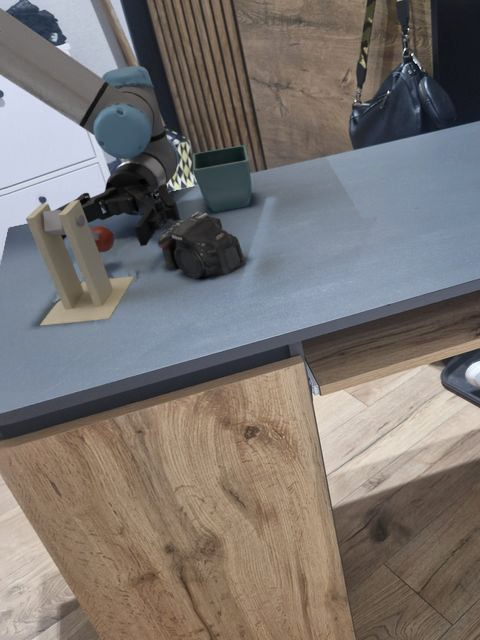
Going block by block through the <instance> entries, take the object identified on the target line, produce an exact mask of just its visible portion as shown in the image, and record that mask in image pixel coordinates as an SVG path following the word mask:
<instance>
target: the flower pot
mask: <svg viewBox="0 0 480 640" xmlns="http://www.w3.org/2000/svg"><path fill="white" fill-rule="evenodd" d="M250 167H251V166H250V159H249V155H248V151H247V147H246V145H245V144H244V145H243V144H242V145H241V144H240V145H237V146H229V147H225V148H219V149H211V150H206V151H202V152H201V151H199V152H196V153H192V172H193V174H194V176H195V179H196V183H197V185H198V188H199V191H200V193H201V195H202V198H203V199H204V201H205V204H206V205H207V206H208V208H209V209H210V210H211V211H212V212H213V213H219V212H225V211H229V210H230V211H231V210H234V209H240V208H245V207H249V206H250V203H251V199H252V178H251V177H252V176H251V168H250Z"/></svg>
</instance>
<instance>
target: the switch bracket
mask: <svg viewBox="0 0 480 640" xmlns="http://www.w3.org/2000/svg"><path fill="white" fill-rule="evenodd" d="M74 200H75V199H74ZM68 203H69V202H68ZM45 211H52V209H51V206H50V204H49V203H41V204H39V205H38V206H37V207H36V208H35V209H34V210H33V211H32V212H31V213H30V214H29V215H28V216H26V218H25V221H26V223H27V225H28V227H29V230H30V232H31V234H32V237H33V239H34V241H35V244H36V246H37V249H38V250H39V253H40V255H41V258H42V259H43V262H44V264H45V267H46V269H47V271H48V274H49V276H50V278H51V281H52V283H53V285H54V288H55V290H56V292H57V294H58V297H59V299H58V300H57V302H56V303H55V304H54V305H53V307H52V308H51V310H50V311H49V312H48V313H47V315H46V316H45V317H44V319H43V320H42V322H41V323H40V324H39V326H40V327H41V326H43V327H44V326H53V325H54V326H55V325H63V324H73V323H85V322H94V321H95V322H96V321H103V320H104V321H105V320H110V319H111V317H112V315H113V314H114V313H115V311H116V309H117V307H118V306H119V304H120V303H121V301H122V299H123V297H124V295H125V294H126V292H127V291H128V289H129V288H130V286H131V284H132V282H133V281H134V279H135V276H134V275H133V276H131V275H130V276H123V277H113V278H109V275H108V273H107V270H106V268H105V267H106V266H105V264H104V262H103V259H102V256H101V254H100V252H99V251H98V248H97V246H96V243H95V240H94V238H93V235H92V232H91V230H90V229H91V227H90V224H89V223H88V222H87V219H86V216H85V214H84V211H83V208H82V206H81V203H80V200H75V201H73V200H71V201H70V203H69V204H68V205H67V207H66V208H65V209H64V210H63V211H62V212H61V213H60V214H59V215H58V216H59V218H60V221H61V223H62V226H63V228H64V231H65V233H66V236H67V237H66V238H67V240H68V244H69V245H70V248H71V250H72V253H73V256H74V258H75V261H76V263H77V265H78V268H79V271H80V272H81V275H82V278H83V280H84V281H83V280H82V281H80V279H79V276H78V274H77V271H76V269H75V266H74V264H73V262H72V259H71V256H70V254H69V252H68V249H67V247H66V244H65V241H64V240H63V239H62V236H61V235H58V236H57V235H54V234H51V233H48V232H46V231H45V228H44V216H43V212H45Z"/></svg>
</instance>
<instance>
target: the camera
mask: <svg viewBox="0 0 480 640" xmlns="http://www.w3.org/2000/svg"><path fill="white" fill-rule="evenodd" d="M157 245H158V248H160V249H161V251H162V257H163V259H164V262H165V265H166V267H167V269H168V270H171V271H174V270H177V269H180V271H182V273H183V274H184V275H186V276H187V277H189V278H190V279H191V278H192V279H195V280H199V279H201V278H210V277H213V276H224V275H229V274H231V273H233V272H234V271H236V270H238V269H239V268H241V267H243V266H244V265H245V264H246V263H245V257H244V254H243V251H242V248H241V244H240V241H239V238H238V237H237V236H235V235H233V234H232V233H229V232H228V231H226V230H224V229H223V224H222V222H221V218H219V217H215V216H211V215H209V214H208V213H207V212H205V213H201V211H197V212H195V213H193V214H192V215H191V216H189V217H188V218H186V219H183V220H178V221H176V223H175V224H173V225H171V226H169V227H168V228H167V229H165V230H163V233H161V235H160V236H159V238H158V241H157Z"/></svg>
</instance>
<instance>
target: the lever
mask: <svg viewBox="0 0 480 640" xmlns="http://www.w3.org/2000/svg"><path fill="white" fill-rule="evenodd" d="M61 212H62V210H56V209H54V210H51V211H45V212H43V216H44V228H45V231H46V232H48V233H51V234H54V235H57V236H58V235H66V233H65V231H64V228H63V226H62V223H61V221H60V218H59V216H58V215H59V214H60V213H61ZM90 230H91V232H92V235H93V238H94V240H95V243H96V246H97V248H98V251H99V253H107V252H108V251H110V250H111V249H112V248H113V246H114V244H115V235H114V233H113V232H112V230H111V229H109V228H108V227H107V226H103V225H96V226H93V227H92V228H91V227H90Z"/></svg>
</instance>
